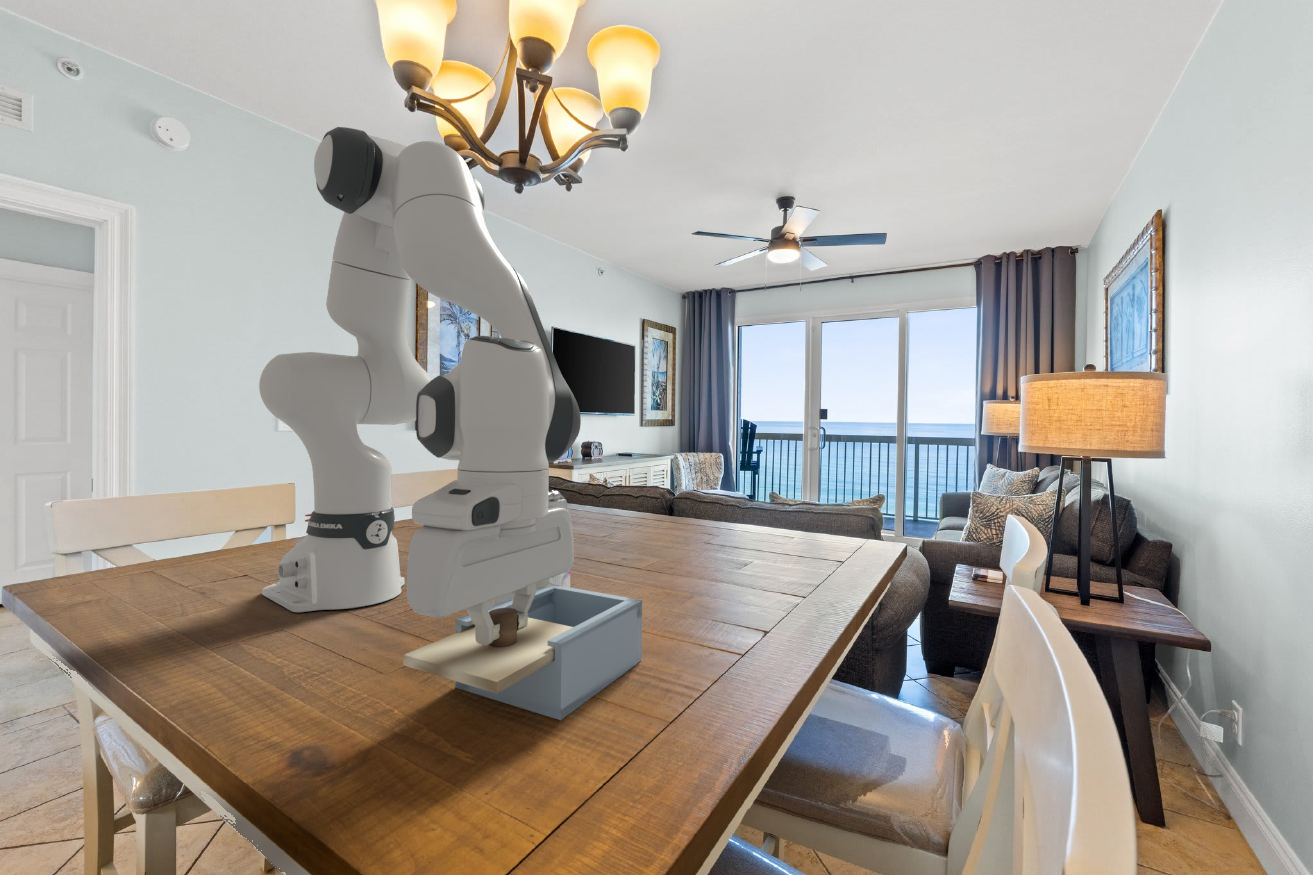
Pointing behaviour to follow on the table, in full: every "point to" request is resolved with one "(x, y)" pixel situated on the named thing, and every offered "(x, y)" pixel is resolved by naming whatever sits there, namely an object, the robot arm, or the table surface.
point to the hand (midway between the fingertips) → (502, 635)
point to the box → (574, 649)
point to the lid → (490, 653)
